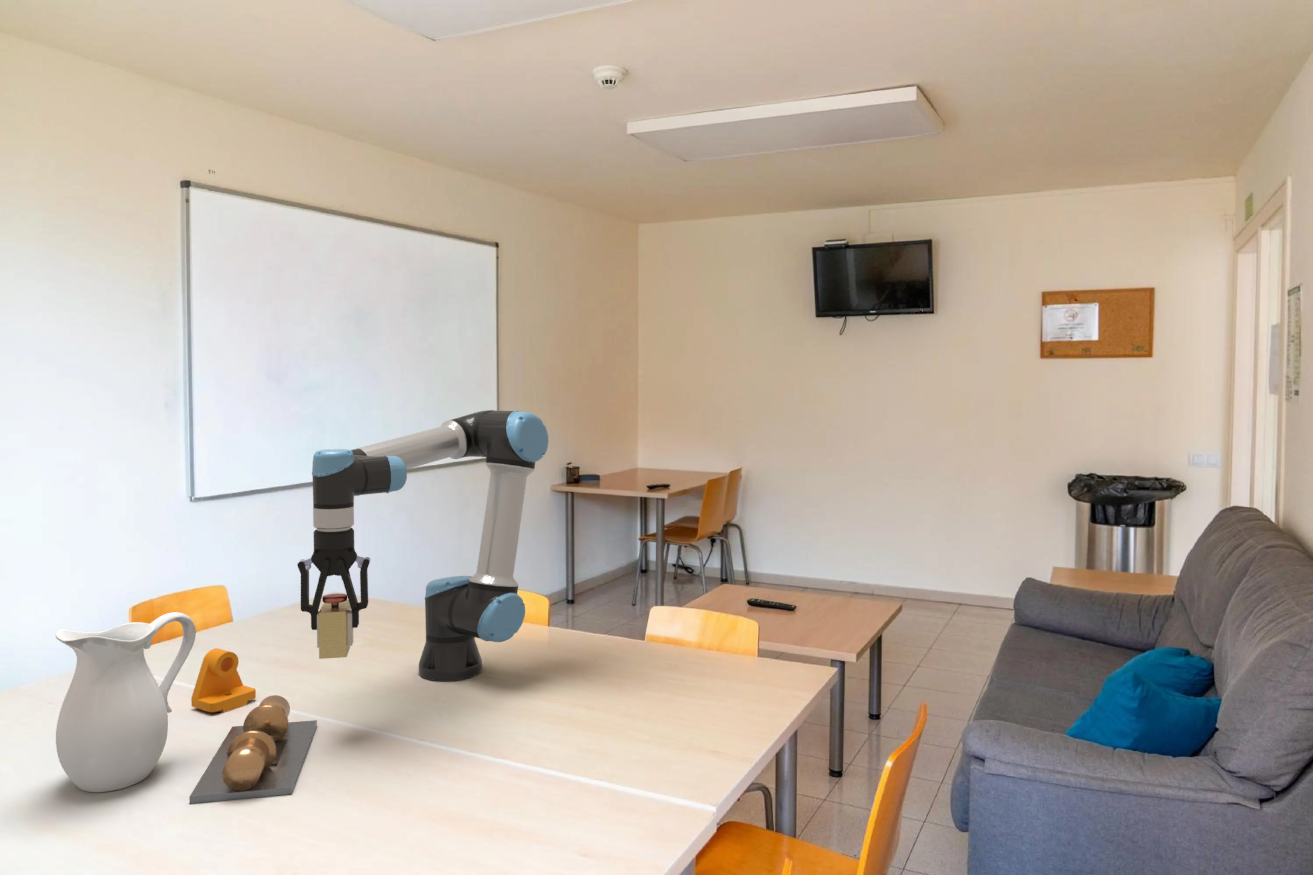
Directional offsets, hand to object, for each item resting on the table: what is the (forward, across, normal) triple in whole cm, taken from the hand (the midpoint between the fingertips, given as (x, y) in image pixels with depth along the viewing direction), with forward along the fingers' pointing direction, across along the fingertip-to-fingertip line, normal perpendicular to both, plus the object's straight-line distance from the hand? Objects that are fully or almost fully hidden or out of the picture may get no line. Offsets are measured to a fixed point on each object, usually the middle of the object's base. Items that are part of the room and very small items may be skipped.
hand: (335, 644), depth 176 cm
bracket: (+19, +26, -23) cm, 40 cm away
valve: (+1, 0, 0) cm, 1 cm away
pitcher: (+19, +34, +9) cm, 40 cm away
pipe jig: (+19, +13, +9) cm, 24 cm away
